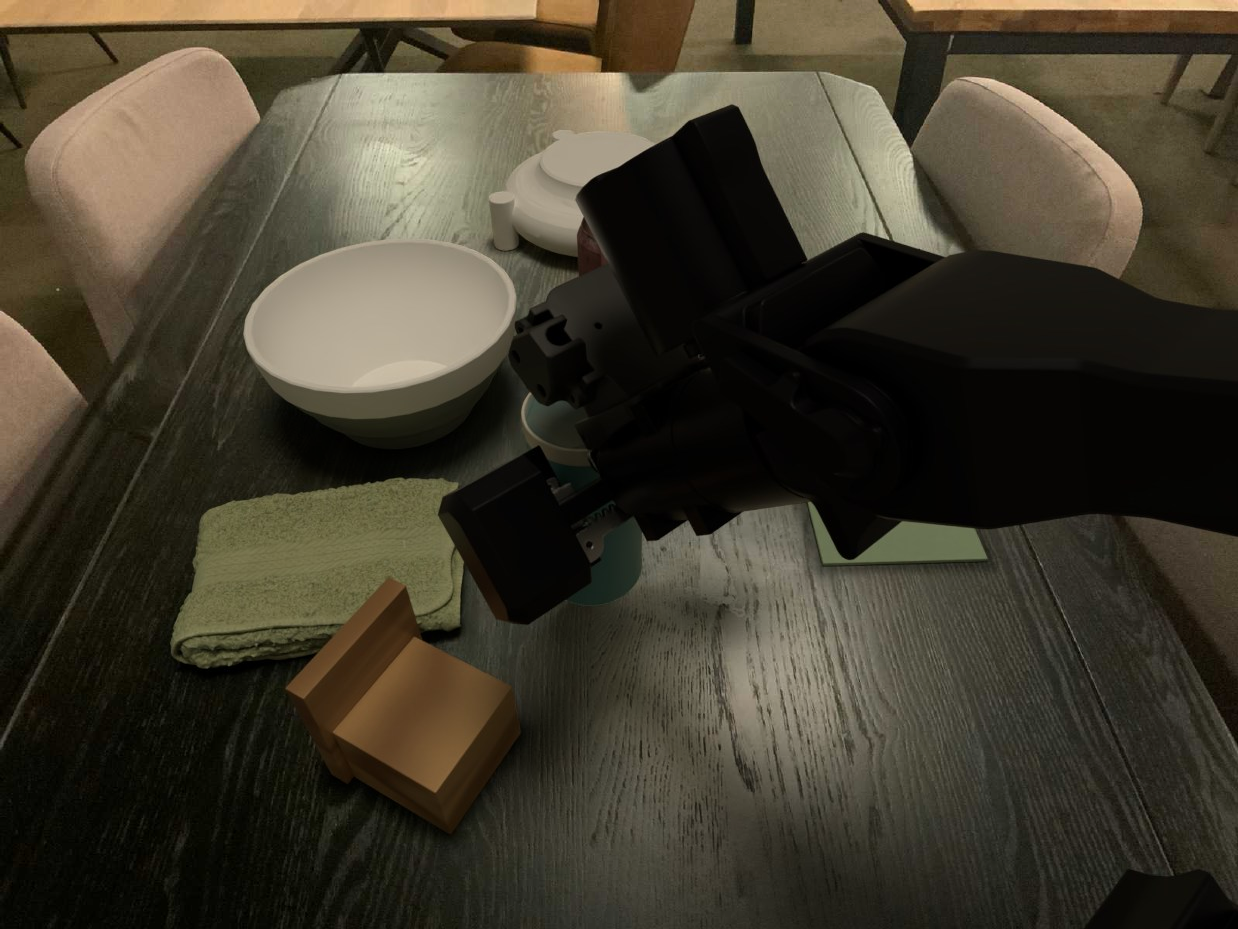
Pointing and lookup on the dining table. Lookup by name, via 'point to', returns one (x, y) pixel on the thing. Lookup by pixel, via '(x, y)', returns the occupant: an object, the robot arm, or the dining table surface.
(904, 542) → the mat
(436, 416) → the bowl
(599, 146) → the round stand with pegs
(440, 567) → the washcloth
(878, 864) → the dining table surface
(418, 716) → the stepped wooden block
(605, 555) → the teal cup
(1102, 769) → the dining table surface
